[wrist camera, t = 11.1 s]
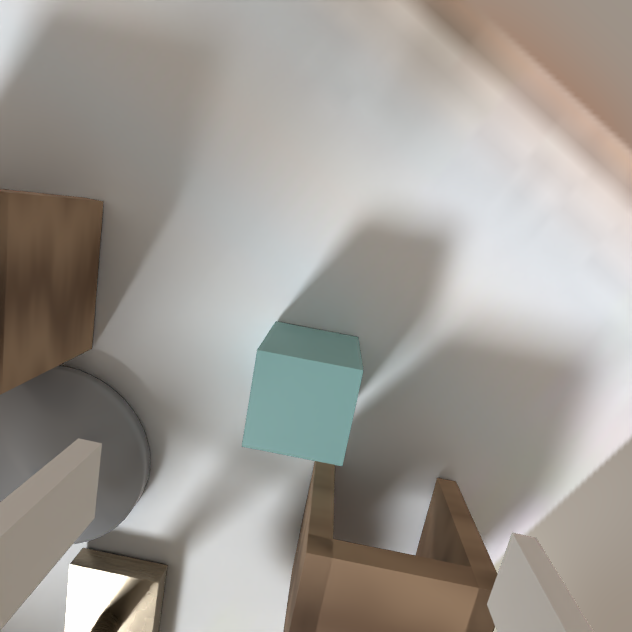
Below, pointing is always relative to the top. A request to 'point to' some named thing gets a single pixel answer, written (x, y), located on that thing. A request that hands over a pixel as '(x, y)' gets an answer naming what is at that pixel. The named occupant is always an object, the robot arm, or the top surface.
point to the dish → (74, 439)
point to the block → (304, 393)
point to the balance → (114, 593)
